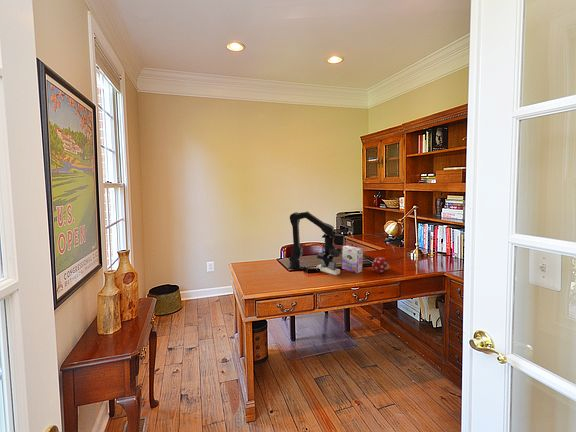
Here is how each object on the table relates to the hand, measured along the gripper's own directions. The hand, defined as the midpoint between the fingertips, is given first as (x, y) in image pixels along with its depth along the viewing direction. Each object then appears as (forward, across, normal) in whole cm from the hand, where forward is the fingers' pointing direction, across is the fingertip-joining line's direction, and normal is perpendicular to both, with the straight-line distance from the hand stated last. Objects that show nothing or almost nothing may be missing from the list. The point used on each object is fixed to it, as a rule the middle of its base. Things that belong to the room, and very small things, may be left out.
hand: (328, 266), depth 221 cm
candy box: (+4, +14, -10) cm, 18 cm away
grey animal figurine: (+2, 0, 0) cm, 2 cm away
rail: (+4, 0, 0) cm, 4 cm away
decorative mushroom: (+4, +26, -27) cm, 38 cm away
